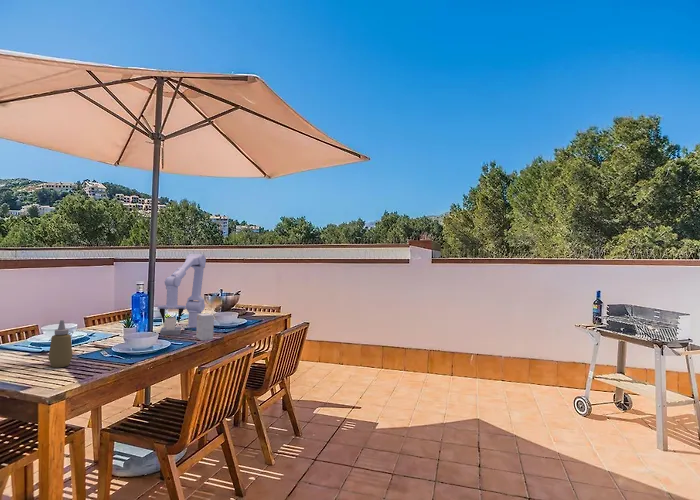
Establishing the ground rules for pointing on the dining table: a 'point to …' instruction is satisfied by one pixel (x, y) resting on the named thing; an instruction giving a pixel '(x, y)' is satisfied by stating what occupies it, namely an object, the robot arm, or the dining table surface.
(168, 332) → the slate base
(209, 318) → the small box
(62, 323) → the squeeze bottle
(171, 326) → the cream block
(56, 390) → the dining table surface
